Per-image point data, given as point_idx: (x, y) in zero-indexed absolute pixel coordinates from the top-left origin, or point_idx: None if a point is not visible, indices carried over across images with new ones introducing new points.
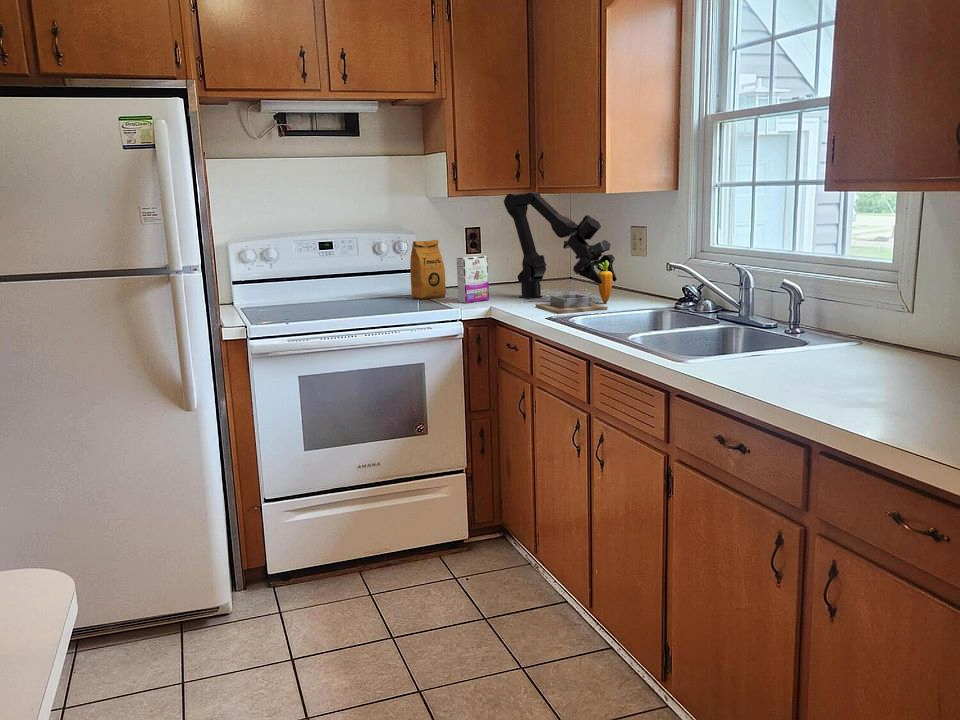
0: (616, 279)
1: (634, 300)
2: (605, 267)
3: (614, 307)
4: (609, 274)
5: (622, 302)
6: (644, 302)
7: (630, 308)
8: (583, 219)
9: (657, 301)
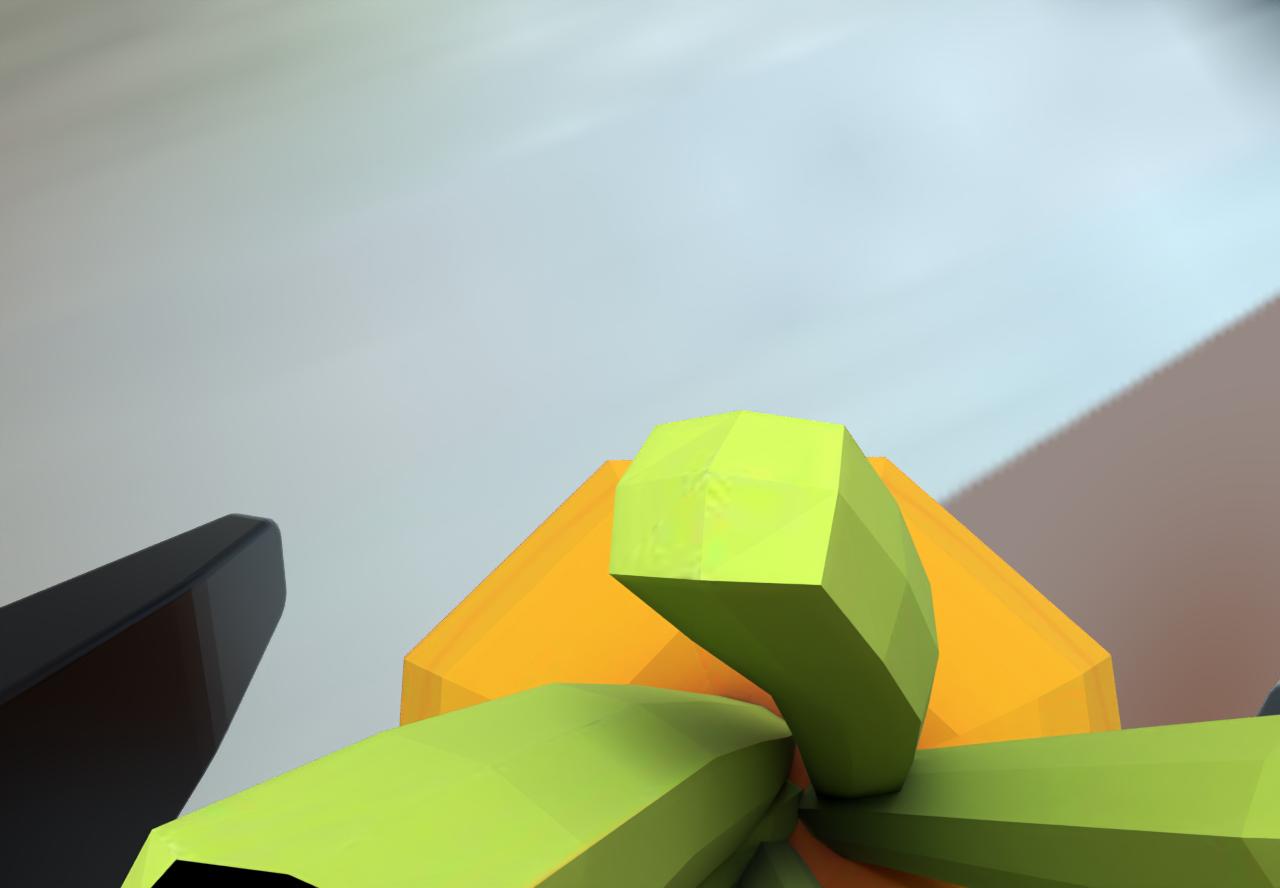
0: (255, 516)
1: (68, 407)
2: (708, 864)
3: (1106, 383)
4: (914, 483)
5: (404, 509)
6: (292, 158)
7: (1078, 101)
8: None
9: (117, 23)
